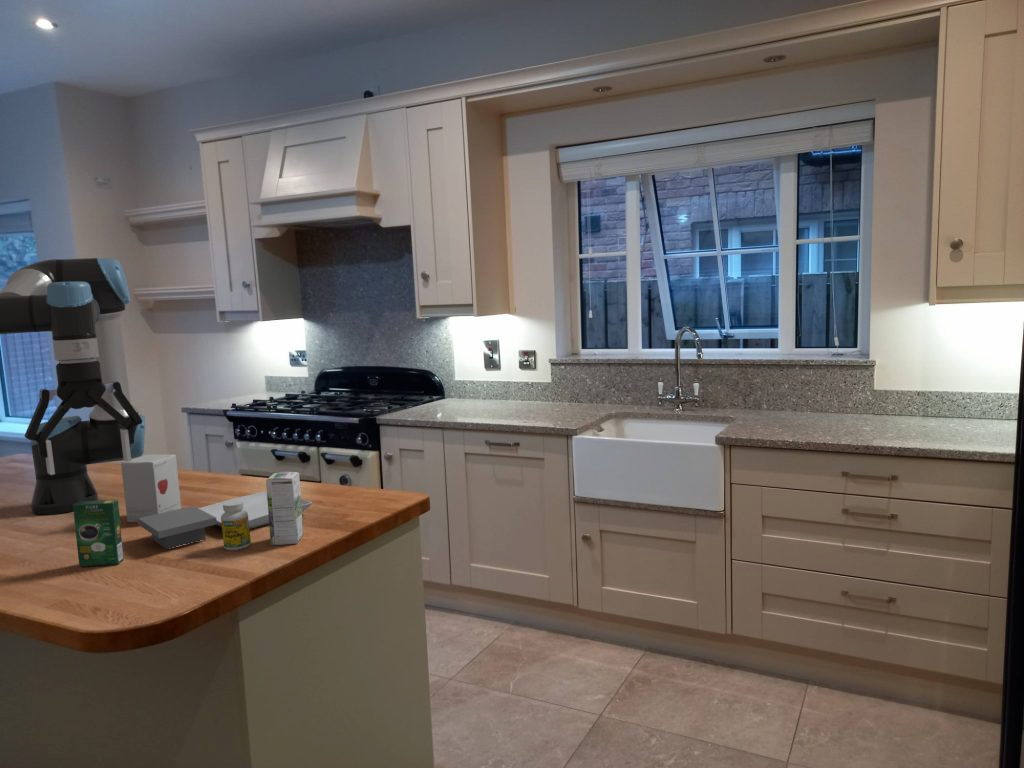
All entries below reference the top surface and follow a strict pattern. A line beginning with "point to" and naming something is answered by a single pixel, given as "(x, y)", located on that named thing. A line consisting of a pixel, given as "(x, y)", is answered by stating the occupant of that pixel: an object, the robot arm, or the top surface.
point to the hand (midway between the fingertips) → (90, 467)
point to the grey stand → (178, 526)
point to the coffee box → (98, 532)
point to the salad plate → (249, 509)
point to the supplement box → (150, 486)
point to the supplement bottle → (235, 526)
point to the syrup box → (284, 508)
